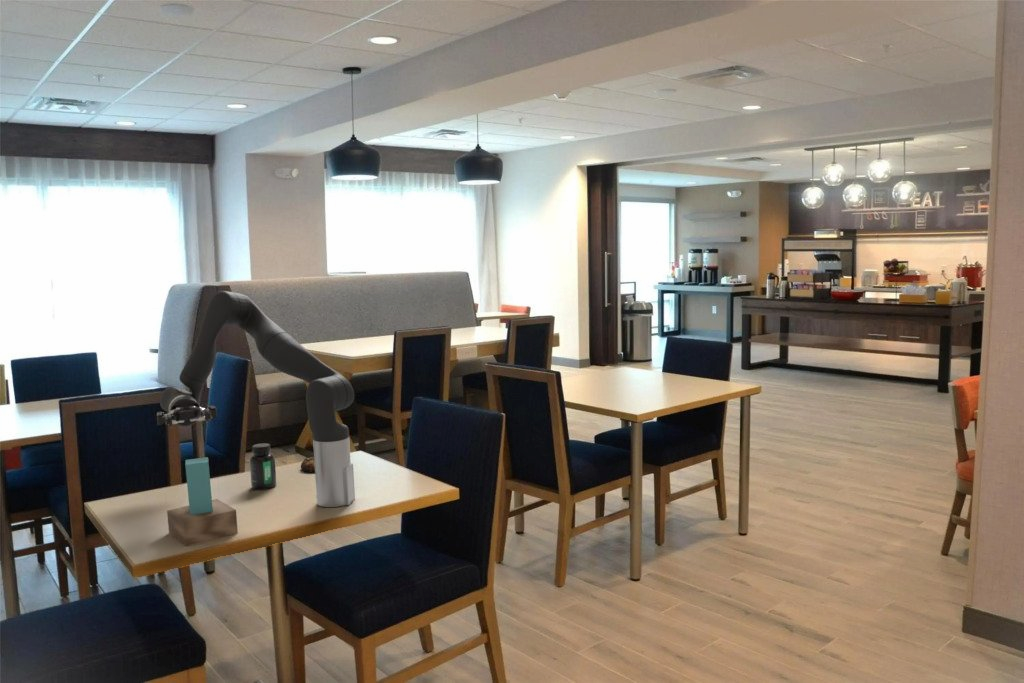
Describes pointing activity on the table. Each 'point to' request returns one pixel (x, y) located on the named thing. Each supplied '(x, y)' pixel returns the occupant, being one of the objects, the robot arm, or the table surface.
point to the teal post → (198, 485)
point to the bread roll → (308, 465)
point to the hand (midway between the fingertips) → (189, 419)
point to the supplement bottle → (262, 467)
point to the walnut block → (202, 523)
